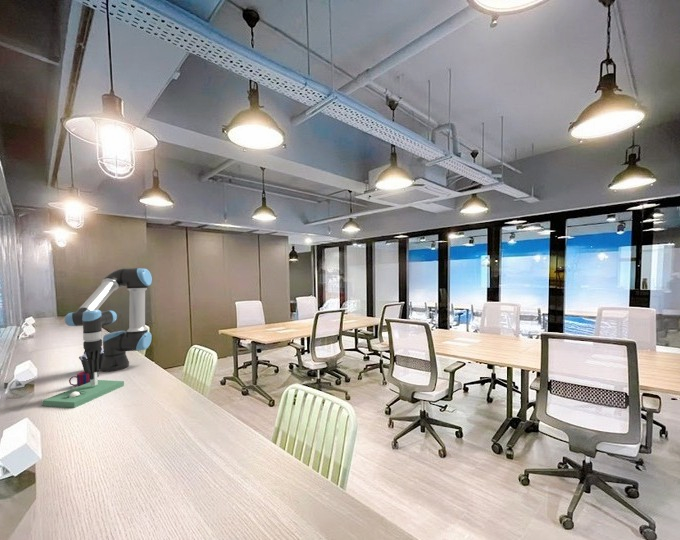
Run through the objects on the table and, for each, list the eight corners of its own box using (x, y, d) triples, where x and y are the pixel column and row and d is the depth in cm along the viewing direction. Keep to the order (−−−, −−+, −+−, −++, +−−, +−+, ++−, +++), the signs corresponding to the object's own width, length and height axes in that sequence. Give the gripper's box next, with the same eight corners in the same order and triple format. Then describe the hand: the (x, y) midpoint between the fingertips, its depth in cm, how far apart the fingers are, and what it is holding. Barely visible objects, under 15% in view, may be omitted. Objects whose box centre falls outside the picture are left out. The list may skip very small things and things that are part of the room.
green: (95, 384, 166) (95, 379, 166) (123, 385, 163) (123, 381, 163) (42, 405, 140) (42, 400, 140) (74, 407, 137) (74, 402, 137)
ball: (76, 395, 149) (73, 389, 147) (83, 395, 148) (80, 389, 147) (69, 402, 145) (65, 395, 144) (76, 402, 144) (72, 395, 143)
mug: (94, 384, 165) (93, 372, 165) (70, 390, 158) (69, 377, 158) (91, 381, 170) (91, 369, 170) (68, 387, 162) (68, 374, 162)
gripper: (98, 336, 162) (100, 379, 163) (73, 343, 149) (75, 389, 150) (110, 337, 161) (111, 380, 161) (86, 343, 148) (87, 390, 149)
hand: (94, 384), depth 156 cm, fingers closed
